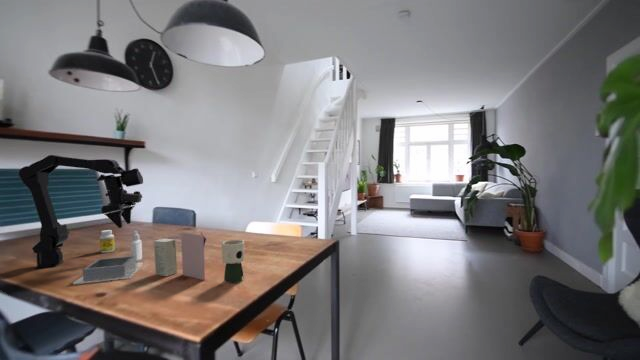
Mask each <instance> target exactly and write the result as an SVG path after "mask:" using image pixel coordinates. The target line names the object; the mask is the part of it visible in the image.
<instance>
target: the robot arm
mask: <svg viewBox="0 0 640 360" xmlns="http://www.w3.org/2000/svg"><path fill="white" fill-rule="evenodd" d="M59 166H61V167H67V168H68V167H69V168H70V167H71V168H79V169H86V170H91V171H94V172H98V173H101V174H100V175H99V176H98V178H97V179H96V182H103V183H104V186H105V189H106V193H105V196H106V197H108V201H109V202H108V204H106V205H103V206H102V207H101V208H100V211H101V213H102V214H104V216H106V217H107V218H108V219H109V220H110V221H112V223H114V225H115V226H117V228H119V229H121V228H123V222H122V221H123V220H124V222H125V223H126V224H127V225H129V224H131V222H132V221H131V220H132V219H131V218H132V210H133V209H134V208H135V205H136V206H137V203H141V202H142V198H143V193H141V191H137V190H134V192H133V193H132V192H131V193H130V192H128V191H127V190H126V189H124V186H125V187H127V188H129V187H134V186H138V185H142V184H144V178H143V175H142V173H141V172H140V170H139V168H133V169H130V170H125V169H124V168H123V167H121V166H120V164H119V162H118V161H117V160H115V159H106V158H104V159H103V158H102V159H85V158H76V157H68V156H61V155H58V154H57V155H55V154H51V155H50V154H49V155H46V156H45V157H44V158H42V159H40V160H38V161H35V162H33V163H32V164H31V163H30V165H26V166H23V167H22V168H20V170H18V177H19V179H20V181H21V182H22V184H23V185H24V186H25V187H26V188H27V189H28V190H29V191H30V193H31V196H32V197H31V198H32V200H33V203H34V206H35V209H36V213H37V216H38V219H39V221H40V224H41V225H40V230H39V241H38V242H37V243H36V244H35V245H33V247H32V250H33V253H35V254H36V266H34V269H41V268H42V269H43V268H51V267H53V268H54V267H57V266H58V265H60V264H62V263H64V260H63V259H64V258H63V251H62V249H61V248H62V247H63V245H64V243H65V242H67V240H68V239H69V234H70V233H69V231H68V228H67V224H61V223H60V222H59V221H58V218H57V214H56V212H55V209H54V206H53V203H52V199H51V196H50V193H49V189H48V184H49V181H50V178H49V177H50V176H49V175H50V174H51V173H53V172H55V170H57V168H58V167H59ZM105 174H109V175H105Z"/></svg>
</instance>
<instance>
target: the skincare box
mask: <svg viewBox="0 0 640 360" xmlns="http://www.w3.org/2000/svg"><path fill="white" fill-rule="evenodd" d="M176 242H177V241H176V239H173V238H160V239H156V240H154V241H153V248H154V270H155V275H157V276H161V277H169V276H172V275H174V274H177V273H178V267H177V266H178V265H177V264H178V263H177V246H176V245H177V243H176Z"/></svg>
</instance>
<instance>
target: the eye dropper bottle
mask: <svg viewBox="0 0 640 360" xmlns="http://www.w3.org/2000/svg"><path fill="white" fill-rule="evenodd" d="M131 237H132V239H131V240H132V241H130V244H129V246H130V247H129V250H130V251H129V253H130V256H135V263H138V262H139V261H141V260H142V259H143V244H142V243H143V241H142V240H141V239H140V234H138V231H137V230H134V233H133V234H132V235H131Z"/></svg>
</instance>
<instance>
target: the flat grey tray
mask: <svg viewBox="0 0 640 360" xmlns="http://www.w3.org/2000/svg"><path fill="white" fill-rule="evenodd" d="M143 265H144V262H135V256H131V255H130V256H129V255H128V256H119V257H118V256H117V257H109V258H107V257H106V258H97V259H96V260H95V261H93V262H91V264H89V265H87V266H86V267H84V268H83V269H82V276H81V277H79V278H78V279H76V280H75V281H73V282H72V285H73V286H75V285H83V284H90V283H91V284H92V283H101V282H109V281H110V282H111V280H112V281H119V280H118V279H121V280H127V279H128V280H129V278H130V279H131V278H132V277H133V276H134V275H135V274H136V272H137V271H139V269H140V268H141V267H142V266H143ZM131 276H132V277H131Z"/></svg>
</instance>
